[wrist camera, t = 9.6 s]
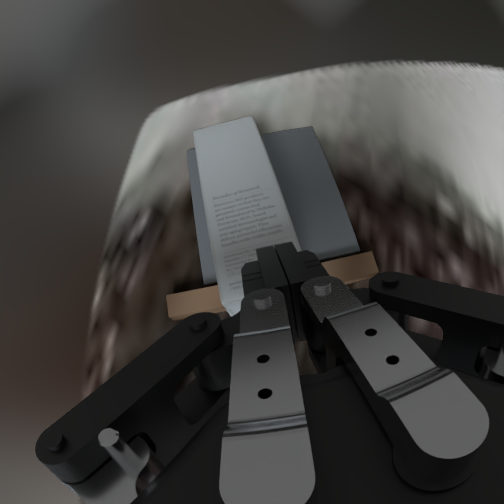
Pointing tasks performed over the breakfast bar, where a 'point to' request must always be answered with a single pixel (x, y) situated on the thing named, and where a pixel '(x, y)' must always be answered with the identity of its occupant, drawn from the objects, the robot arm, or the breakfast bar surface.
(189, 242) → the breakfast bar surface
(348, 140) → the breakfast bar surface
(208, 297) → the walnut strip
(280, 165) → the grey mat
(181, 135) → the breakfast bar surface
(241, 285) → the skincare box
